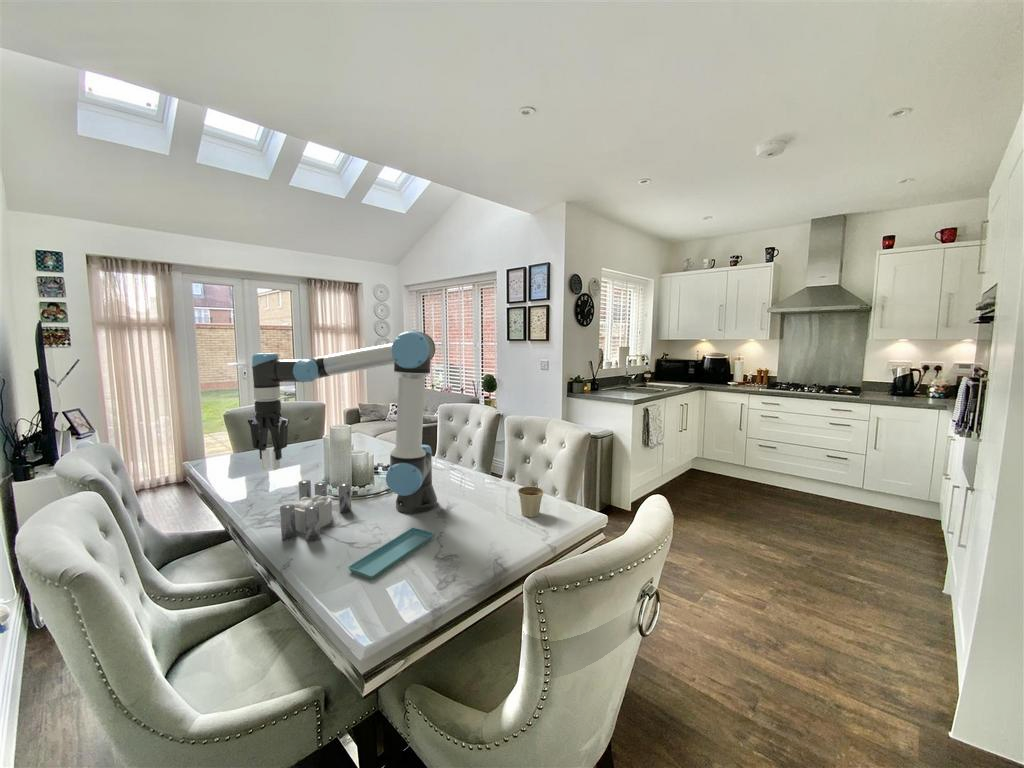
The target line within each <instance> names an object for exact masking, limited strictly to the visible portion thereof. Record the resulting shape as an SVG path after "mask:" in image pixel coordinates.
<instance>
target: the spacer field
mask: <svg viewBox="0 0 1024 768" xmlns="http://www.w3.org/2000/svg"><path fill="white" fill-rule="evenodd" d="M311 482H312V481H311V480H310V479H303V480H300V481H298V498H299V499H298V502H299V501H300V499H301V498H303V497H308V498H310V497H312V485H311V484H312V483H311ZM351 488H352V486H351V482H342V483H339V484H338V503H339V505H338V506H339V513H340V514H348V513H351V512H352V510H353V508H352V492H351V491H352V489H351ZM316 495H320V496H327V497H328V483H327V482H326V481H320V482H319V481H318V482H316V483H314V496H316ZM294 504H295V503H288V504H283V505H281V506H280V507H279V511H280V513H279V515H280V530H281V531H280V533H281V534H280V535H281V540H282V539H283V540H282V541H290V540H289V539H291V540H293V538H294V537H295V538H296V537H297V531H296V524H295V505H294ZM305 525H306V533H305V540H306V541H307V542H315V540H316V541H318V540H320V539H321V528H320V518H319V506H318V505H310V506H307V507H305ZM295 538H294V539H295ZM319 538H320V539H319ZM317 539H318V540H317Z"/></svg>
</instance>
